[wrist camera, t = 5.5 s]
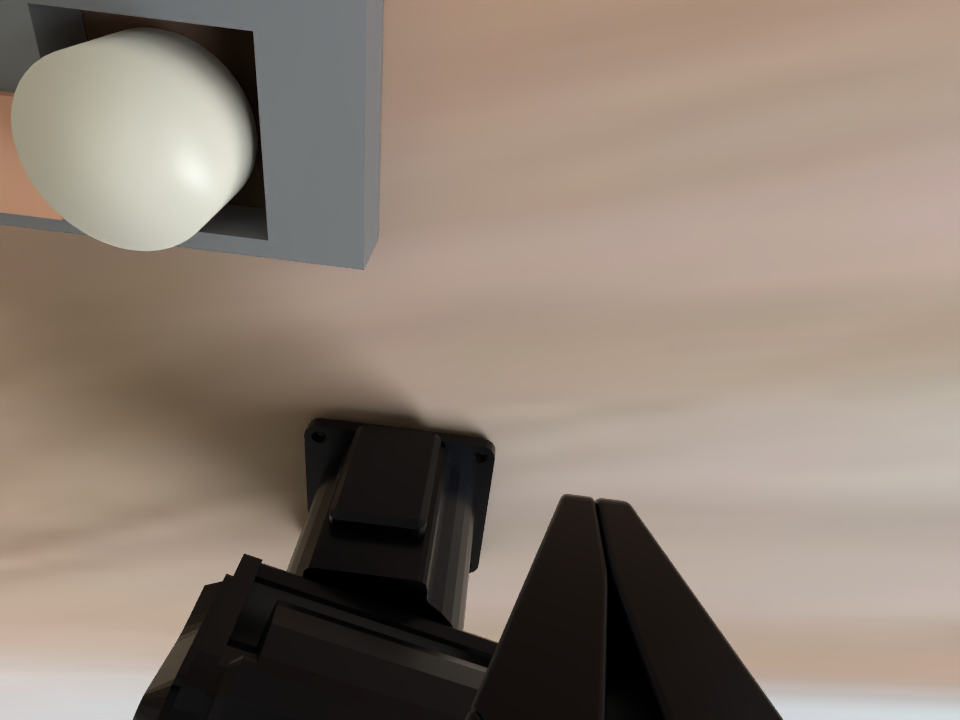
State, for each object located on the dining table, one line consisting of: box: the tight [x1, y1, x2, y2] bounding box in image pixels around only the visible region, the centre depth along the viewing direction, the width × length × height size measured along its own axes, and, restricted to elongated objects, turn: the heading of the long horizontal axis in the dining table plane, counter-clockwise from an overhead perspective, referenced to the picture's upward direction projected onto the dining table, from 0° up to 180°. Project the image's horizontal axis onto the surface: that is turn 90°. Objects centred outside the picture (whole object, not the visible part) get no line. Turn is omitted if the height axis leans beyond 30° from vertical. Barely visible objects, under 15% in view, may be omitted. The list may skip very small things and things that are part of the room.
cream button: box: [11, 27, 258, 251], centre depth 16 cm, size 4×4×3 cm
